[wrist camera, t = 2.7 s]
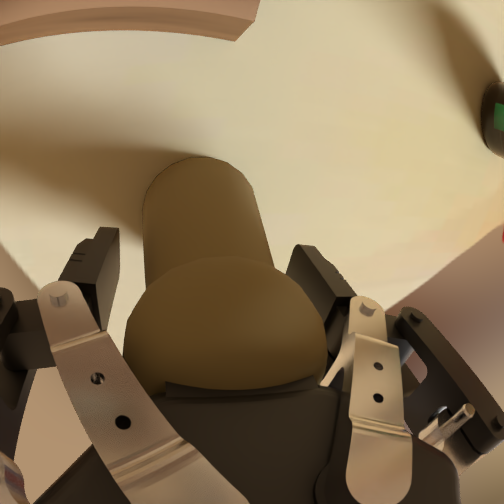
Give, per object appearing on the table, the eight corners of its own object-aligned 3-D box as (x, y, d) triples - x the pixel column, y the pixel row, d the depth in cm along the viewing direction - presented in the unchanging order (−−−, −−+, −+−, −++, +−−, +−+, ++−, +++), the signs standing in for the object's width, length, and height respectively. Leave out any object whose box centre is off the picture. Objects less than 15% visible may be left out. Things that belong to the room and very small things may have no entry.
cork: (130, 171, 13) (38, 347, 4) (250, 147, 14) (393, 276, 4) (158, 272, 16) (157, 464, 7) (261, 251, 17) (343, 425, 8)
